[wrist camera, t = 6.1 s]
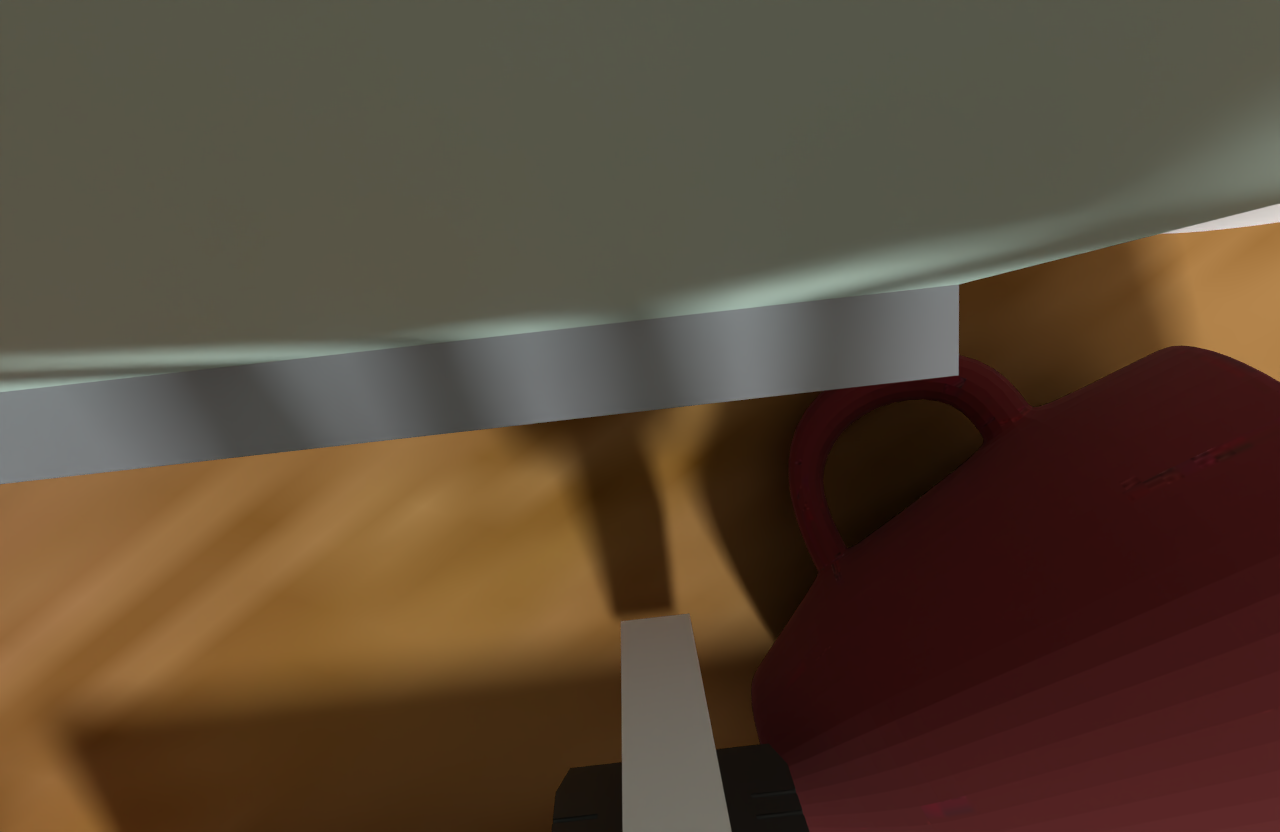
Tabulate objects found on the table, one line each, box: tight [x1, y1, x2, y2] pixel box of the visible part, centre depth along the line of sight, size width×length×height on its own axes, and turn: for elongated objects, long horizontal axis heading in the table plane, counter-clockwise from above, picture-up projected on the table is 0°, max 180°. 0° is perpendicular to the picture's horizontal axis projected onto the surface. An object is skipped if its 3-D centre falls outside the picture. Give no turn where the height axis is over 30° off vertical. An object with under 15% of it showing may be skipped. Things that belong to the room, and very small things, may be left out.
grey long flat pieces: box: [0, 284, 959, 484], centre depth 14 cm, size 18×16×6 cm
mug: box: [751, 346, 1280, 832], centre depth 13 cm, size 11×8×10 cm
